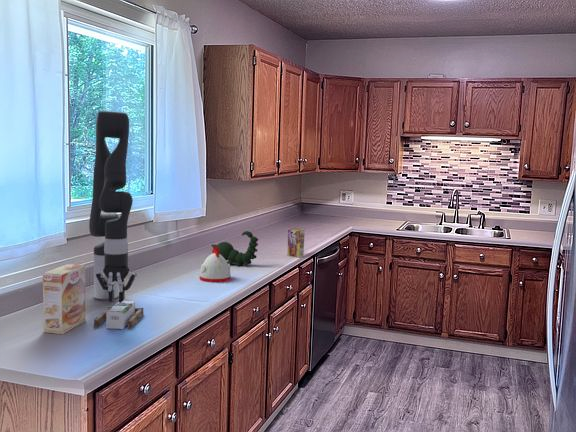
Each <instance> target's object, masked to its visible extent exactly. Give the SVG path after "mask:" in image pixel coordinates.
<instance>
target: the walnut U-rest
mask: <svg viewBox="0 0 576 432" xmlns="http://www.w3.org/2000/svg"><path fill="white" fill-rule="evenodd" d="M112 307H113V306H108V307H107V308H106V309H105V310H103V311H102V312H101V313H100V314H99V315H98V316H97V317H95V319H93V328H99V327H100V326H101V325H102V324H103V323H104V322H105V321H106V312H108V311H109V310H110V309H111V308H112ZM143 316H144V308H143V307H135V314H134V315H133V316H132V317H131V318H130V319H129V320H128V324H127V329H129V330H132V329H133V328H134V326H136V324H137V323H138V322H139V321H140V320H141V319H142V317H143Z"/></svg>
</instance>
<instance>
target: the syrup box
mask: <svg viewBox="0 0 576 432" xmlns="http://www.w3.org/2000/svg"><path fill="white" fill-rule="evenodd" d="M111 307H112V308H111V309H110V310H109V311H108V312H106V320H105V321H106V322H105V323H106V324H105V325H106V326H105V327H106V329H108V330H124V329H125V328H126V326H128V320H129V319H130V318H131V317H132V316H133V315H134V314H135V308H136V301H133V300H132V301H130V300H128V301H127V300H123V302H122V303H119V301H118V302H116V303H115V304H114V305H113V306H111Z"/></svg>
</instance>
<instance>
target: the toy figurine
mask: <svg viewBox="0 0 576 432" xmlns="http://www.w3.org/2000/svg"><path fill="white" fill-rule="evenodd" d="M241 236H247V237H248V238H250V239H249V240H250V241H249V243H248V246H247V250H246V251H245V252H240V251H239V250H237V249H235V248H234V246H233V245H232V243H229V242H228V241H222V242H220V243H218V244H210V245H211V247H212V249H213V248H214V246H216V247H217V248H218V251H219V254H220V255H221V256H223V257H224V259H225V260H226V261H227V263H228V264H230V265H233V264H236V267H240V266H241V265H245V266H248V265H250V264H252V260H254V259H256V258H257V255H256V254H255V253H256V252H258V249H257V247H258V245H259V244H258V241H259V238H258V237H256V236H254V234H253V233H252V231H249V230H245V231H243V232H242V233H241Z"/></svg>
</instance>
